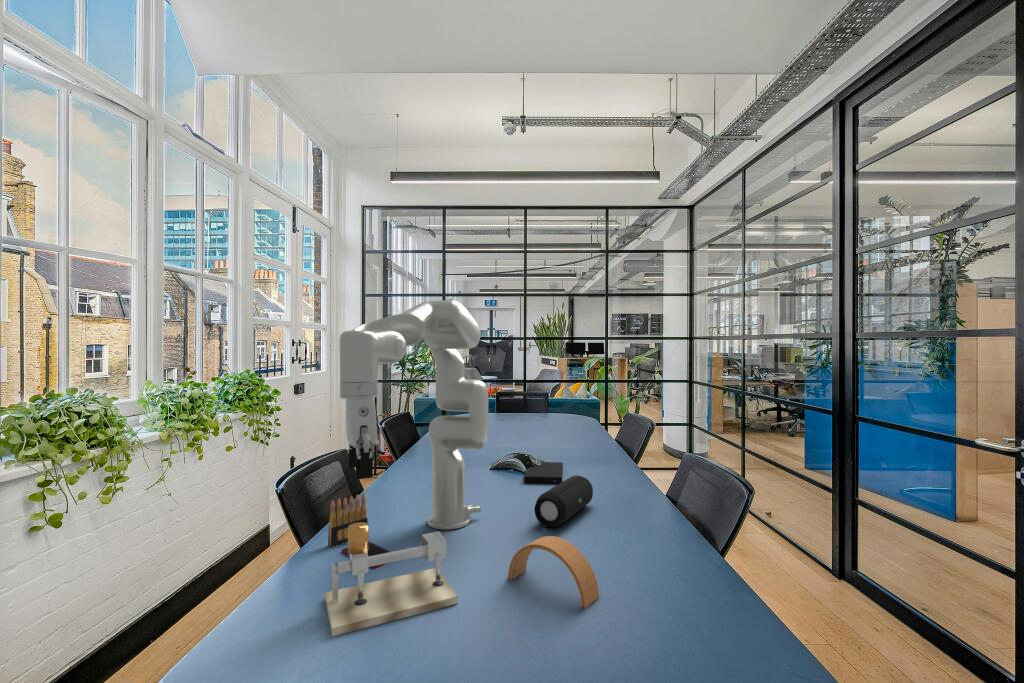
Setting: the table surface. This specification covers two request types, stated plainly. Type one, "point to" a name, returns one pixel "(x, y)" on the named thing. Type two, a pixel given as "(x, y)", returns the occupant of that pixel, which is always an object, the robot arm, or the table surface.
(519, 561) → the arch
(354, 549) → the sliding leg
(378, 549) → the cell phone
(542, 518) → the portable speaker
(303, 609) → the table surface
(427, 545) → the frame
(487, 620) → the table surface
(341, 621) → the hole plate
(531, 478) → the external hard drive
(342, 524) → the ammunition clip
